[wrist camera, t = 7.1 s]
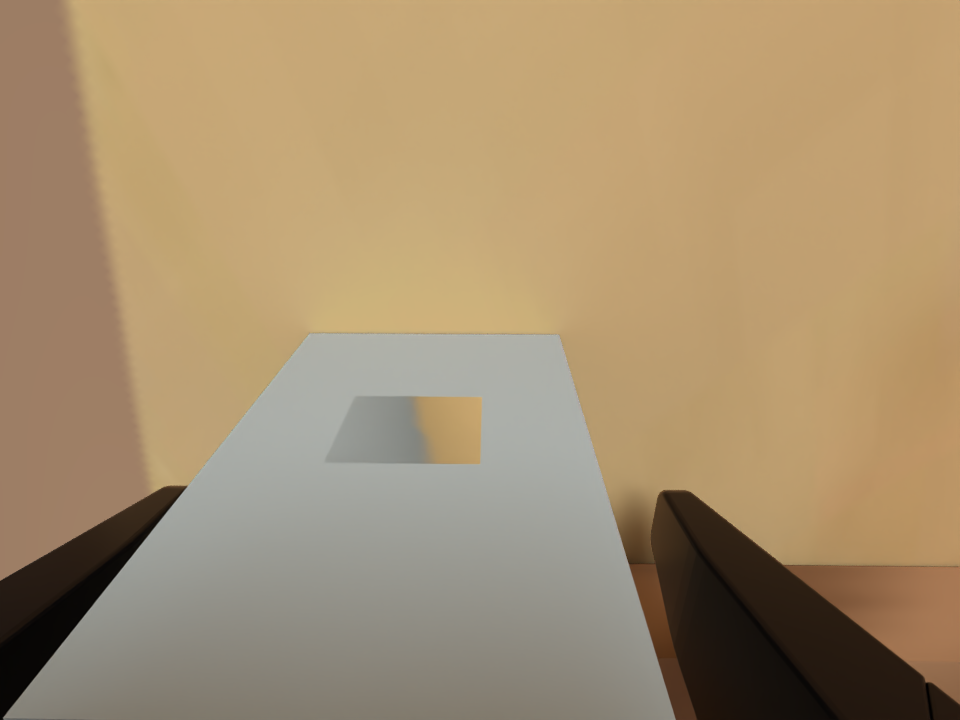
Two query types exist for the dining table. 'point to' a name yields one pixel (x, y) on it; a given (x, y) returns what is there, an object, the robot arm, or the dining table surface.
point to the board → (861, 596)
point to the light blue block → (378, 556)
